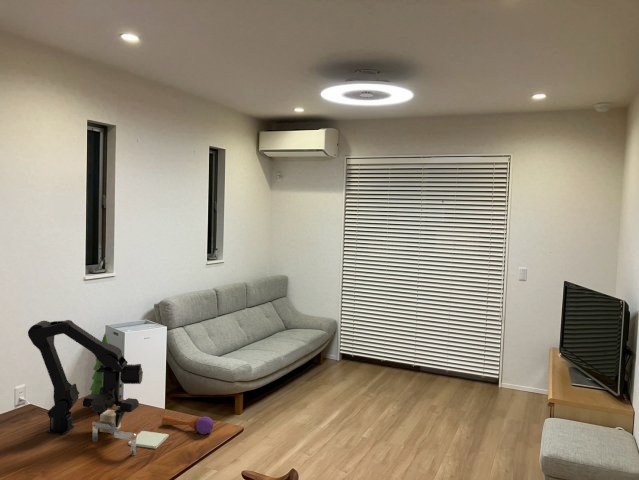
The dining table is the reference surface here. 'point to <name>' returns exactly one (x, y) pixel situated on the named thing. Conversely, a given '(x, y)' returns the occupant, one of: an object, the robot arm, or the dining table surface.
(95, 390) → the decorative tree
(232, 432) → the dining table surface
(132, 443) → the steel handle
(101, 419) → the birch block
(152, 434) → the sage pad
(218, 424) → the dining table surface
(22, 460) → the dining table surface
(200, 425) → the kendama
